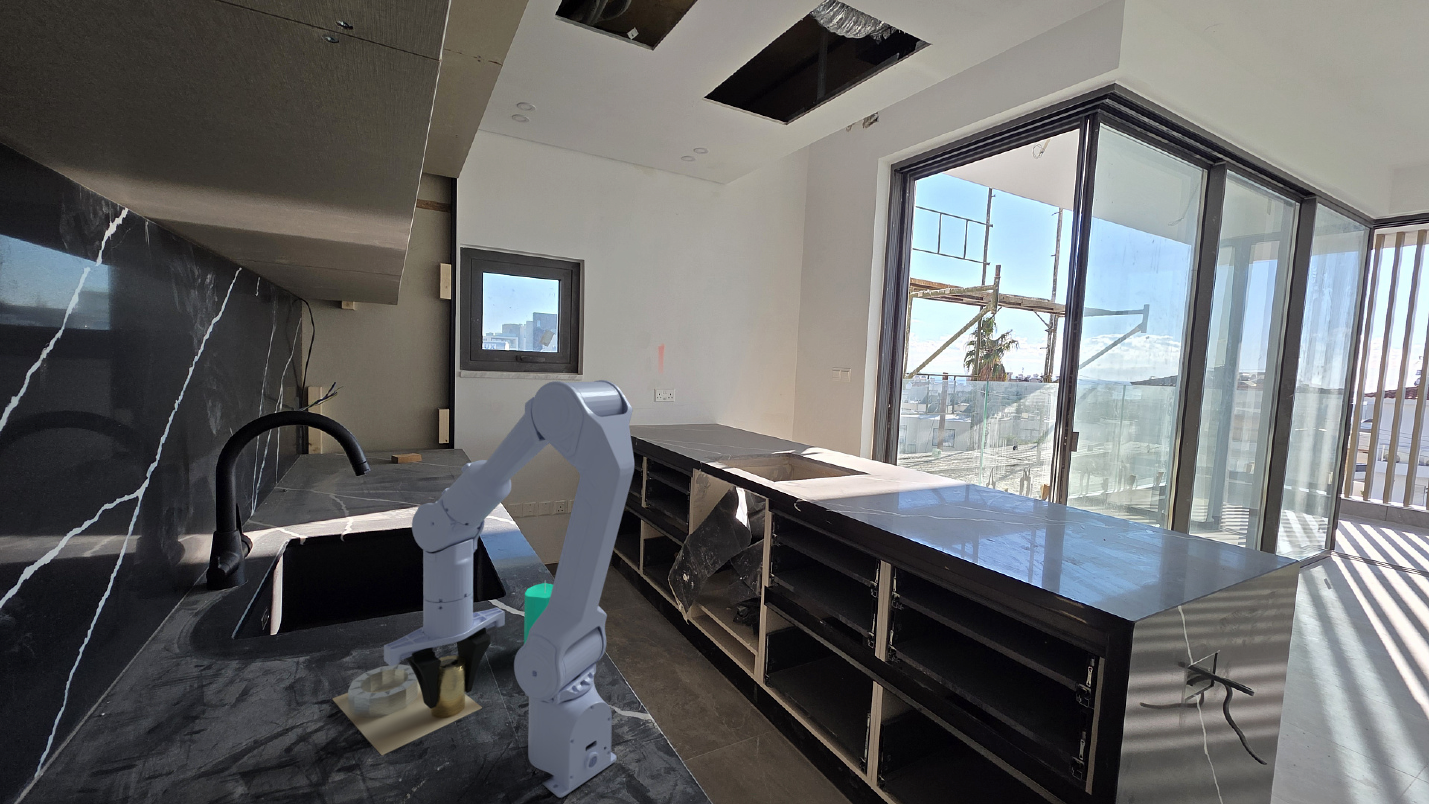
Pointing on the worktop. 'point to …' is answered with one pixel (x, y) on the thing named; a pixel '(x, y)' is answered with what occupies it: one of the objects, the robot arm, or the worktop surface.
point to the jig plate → (401, 722)
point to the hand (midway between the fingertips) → (448, 696)
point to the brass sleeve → (450, 687)
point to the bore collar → (383, 702)
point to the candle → (535, 604)
